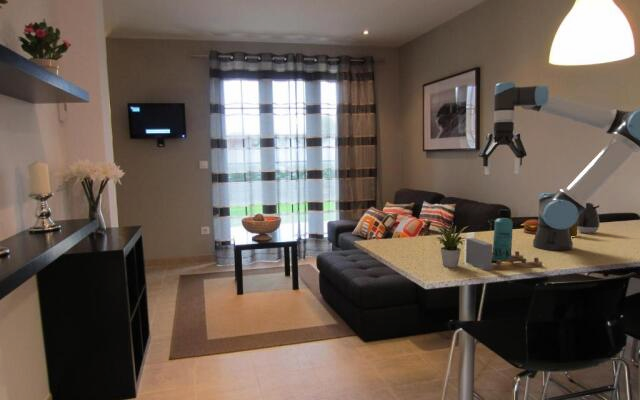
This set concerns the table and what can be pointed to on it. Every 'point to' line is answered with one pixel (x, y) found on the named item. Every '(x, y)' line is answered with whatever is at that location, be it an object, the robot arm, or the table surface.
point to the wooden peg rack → (516, 265)
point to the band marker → (505, 262)
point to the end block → (479, 253)
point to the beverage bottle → (502, 237)
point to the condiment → (573, 229)
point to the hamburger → (530, 226)
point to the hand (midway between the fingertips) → (502, 174)
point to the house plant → (450, 246)
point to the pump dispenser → (588, 219)
